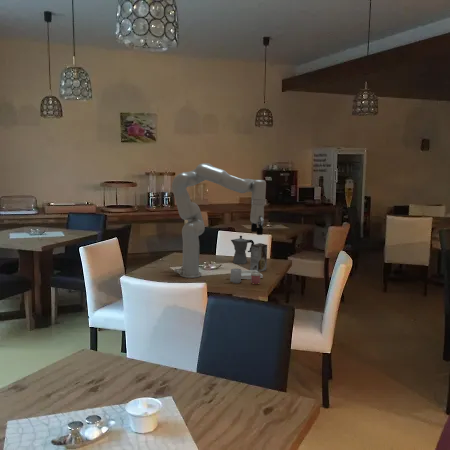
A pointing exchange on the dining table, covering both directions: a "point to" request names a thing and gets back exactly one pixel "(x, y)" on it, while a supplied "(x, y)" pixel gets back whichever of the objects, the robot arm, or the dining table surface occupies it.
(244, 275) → the tray
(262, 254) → the coffee box
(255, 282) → the jam jar
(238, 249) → the coffeepot
